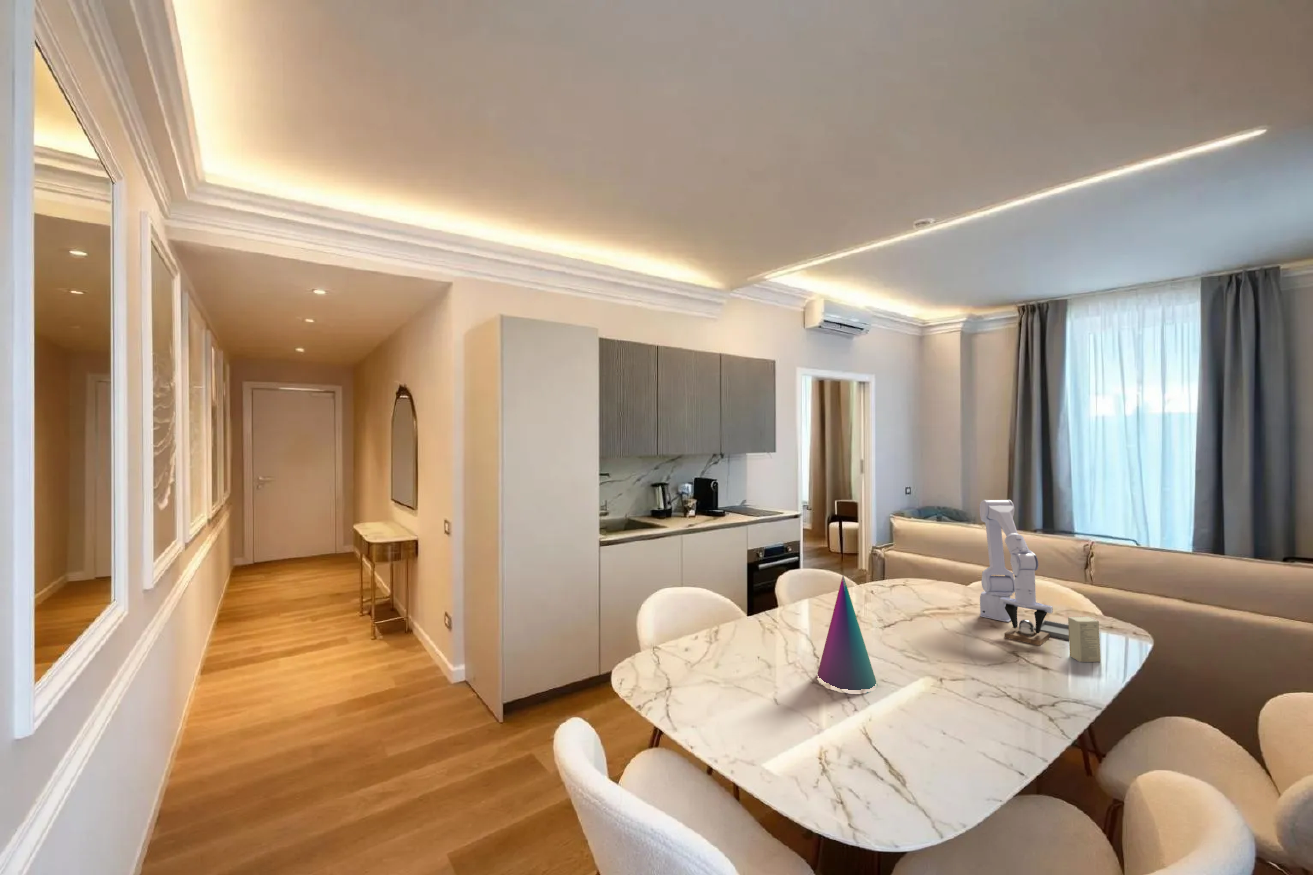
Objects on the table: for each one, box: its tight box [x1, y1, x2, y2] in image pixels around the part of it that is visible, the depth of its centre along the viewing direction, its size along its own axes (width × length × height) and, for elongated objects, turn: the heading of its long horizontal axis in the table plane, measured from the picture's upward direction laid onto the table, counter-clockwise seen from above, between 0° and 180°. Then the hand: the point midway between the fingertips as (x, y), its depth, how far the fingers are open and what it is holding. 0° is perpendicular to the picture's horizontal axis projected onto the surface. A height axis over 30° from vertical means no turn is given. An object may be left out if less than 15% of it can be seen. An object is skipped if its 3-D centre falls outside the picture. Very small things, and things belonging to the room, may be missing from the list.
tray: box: [1034, 619, 1069, 641], centre depth 181 cm, size 12×12×2 cm
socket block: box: [1003, 626, 1050, 646], centre depth 177 cm, size 10×10×2 cm
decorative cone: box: [817, 574, 877, 690], centre depth 148 cm, size 16×16×30 cm
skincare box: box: [1067, 616, 1101, 663], centre depth 159 cm, size 6×4×12 cm
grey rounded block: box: [1018, 619, 1035, 637], centre depth 177 cm, size 4×4×6 cm
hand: (1026, 629), depth 177 cm, fingers open, 6 cm apart
